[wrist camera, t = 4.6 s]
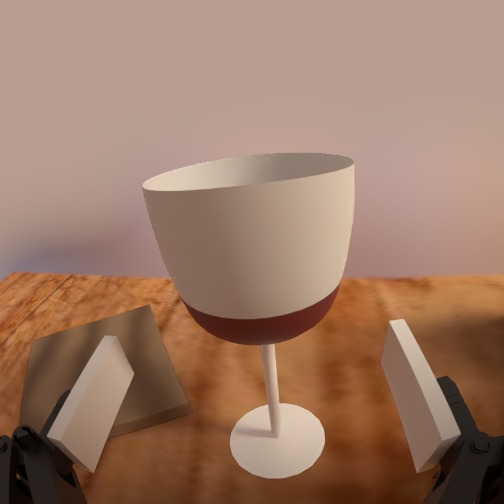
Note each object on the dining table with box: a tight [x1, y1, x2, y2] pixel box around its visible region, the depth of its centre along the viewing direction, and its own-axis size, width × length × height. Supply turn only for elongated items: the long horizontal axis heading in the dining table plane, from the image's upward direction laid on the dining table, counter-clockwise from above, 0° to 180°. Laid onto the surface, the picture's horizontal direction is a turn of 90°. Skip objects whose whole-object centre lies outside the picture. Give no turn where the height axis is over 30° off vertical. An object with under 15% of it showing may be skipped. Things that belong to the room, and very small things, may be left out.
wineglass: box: [142, 153, 354, 478], centre depth 16 cm, size 8×9×20 cm
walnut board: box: [19, 304, 193, 439], centre depth 27 cm, size 18×18×2 cm
